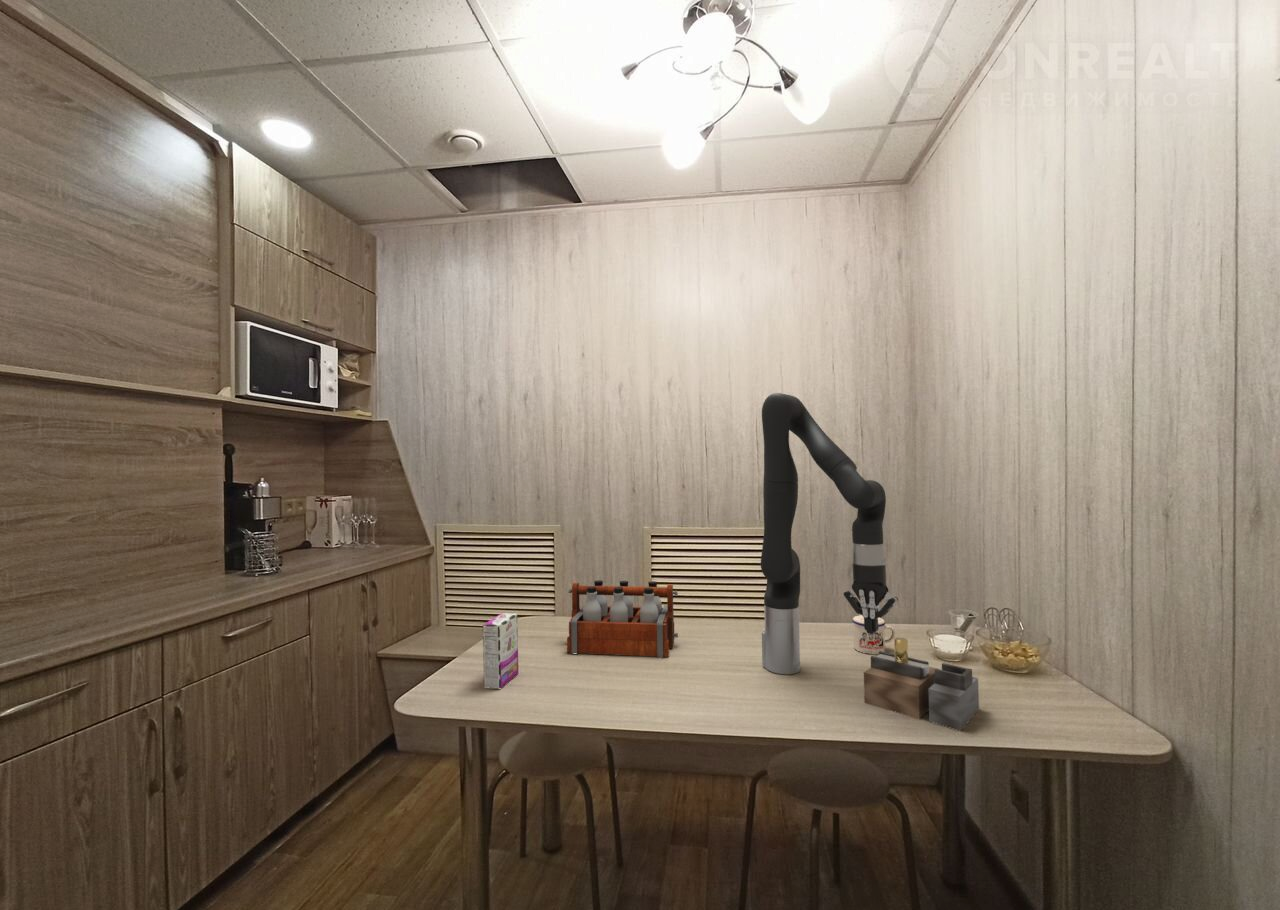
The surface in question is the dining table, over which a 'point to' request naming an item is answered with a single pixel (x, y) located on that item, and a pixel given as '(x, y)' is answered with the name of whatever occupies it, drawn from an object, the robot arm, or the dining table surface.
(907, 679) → the pair of card holders
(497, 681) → the candy bar box
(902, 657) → the gold and grey piece
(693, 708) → the dining table surface
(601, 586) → the milk bottle holder
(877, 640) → the teacup with lid
